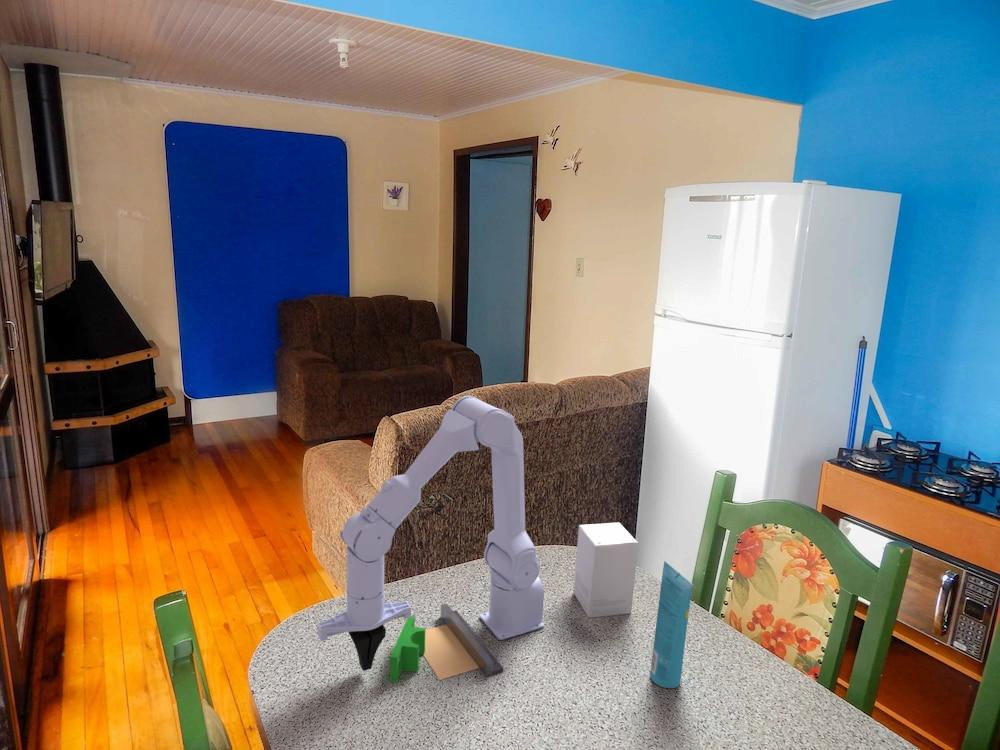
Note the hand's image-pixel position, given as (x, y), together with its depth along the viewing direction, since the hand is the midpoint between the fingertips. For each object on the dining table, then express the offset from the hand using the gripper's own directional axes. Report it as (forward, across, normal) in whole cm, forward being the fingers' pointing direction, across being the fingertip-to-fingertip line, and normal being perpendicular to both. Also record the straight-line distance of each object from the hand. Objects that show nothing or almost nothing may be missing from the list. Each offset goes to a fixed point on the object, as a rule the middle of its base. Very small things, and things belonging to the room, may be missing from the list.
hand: (365, 666), depth 103 cm
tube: (+2, -44, +22) cm, 49 cm away
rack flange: (+1, -15, 0) cm, 15 cm away
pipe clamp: (+2, -8, 0) cm, 8 cm away
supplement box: (+2, -48, 0) cm, 48 cm away
